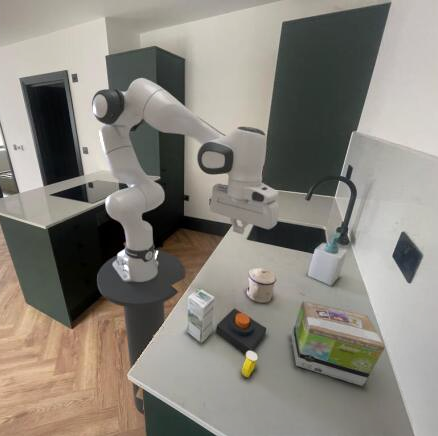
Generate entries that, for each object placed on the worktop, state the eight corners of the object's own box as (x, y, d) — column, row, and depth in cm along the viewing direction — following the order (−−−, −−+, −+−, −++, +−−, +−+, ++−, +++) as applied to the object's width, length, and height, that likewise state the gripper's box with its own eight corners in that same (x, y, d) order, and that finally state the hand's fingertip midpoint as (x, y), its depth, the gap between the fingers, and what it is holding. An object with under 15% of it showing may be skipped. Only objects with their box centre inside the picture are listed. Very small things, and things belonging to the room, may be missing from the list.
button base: (215, 332, 72) (216, 320, 70) (233, 315, 78) (234, 303, 76) (248, 357, 64) (250, 344, 62) (265, 335, 70) (267, 323, 68)
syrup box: (212, 332, 72) (215, 296, 66) (201, 344, 68) (203, 307, 62) (198, 322, 75) (199, 286, 70) (186, 333, 72) (187, 296, 66)
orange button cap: (232, 322, 69) (233, 317, 68) (239, 315, 72) (240, 310, 71) (244, 331, 66) (245, 325, 66) (251, 323, 69) (252, 318, 68)
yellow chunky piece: (248, 383, 58) (251, 368, 55) (238, 375, 59) (240, 360, 57) (258, 366, 61) (262, 351, 59) (248, 359, 63) (251, 344, 61)
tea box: (295, 368, 61) (308, 327, 55) (290, 336, 70) (301, 299, 64) (364, 388, 56) (386, 346, 50) (350, 352, 65) (367, 312, 59)
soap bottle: (338, 277, 95) (353, 236, 87) (331, 286, 90) (345, 243, 82) (315, 267, 101) (327, 228, 94) (307, 275, 96) (318, 235, 89)
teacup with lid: (250, 283, 92) (254, 259, 88) (274, 293, 87) (280, 267, 82) (239, 300, 84) (243, 274, 79) (265, 312, 78) (270, 285, 74)
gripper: (207, 184, 70) (204, 225, 75) (274, 199, 56) (265, 248, 62) (219, 180, 74) (216, 219, 79) (285, 193, 60) (275, 240, 65)
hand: (238, 232), depth 70 cm, fingers closed
